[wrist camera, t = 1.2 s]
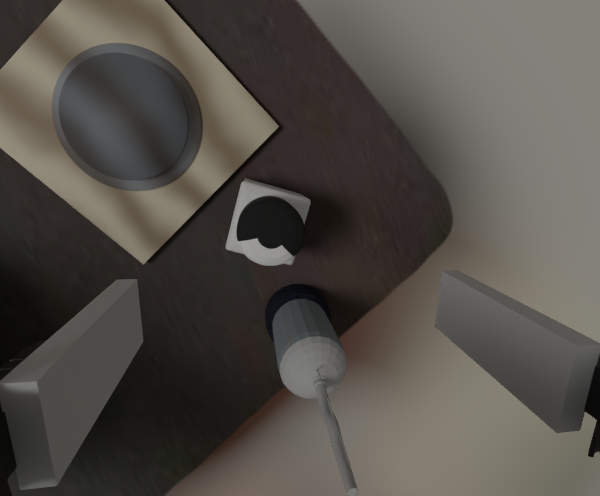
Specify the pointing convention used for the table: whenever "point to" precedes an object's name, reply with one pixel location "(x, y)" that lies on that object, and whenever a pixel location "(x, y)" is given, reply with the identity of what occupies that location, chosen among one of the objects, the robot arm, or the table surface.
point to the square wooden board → (126, 117)
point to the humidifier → (310, 357)
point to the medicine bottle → (268, 223)
